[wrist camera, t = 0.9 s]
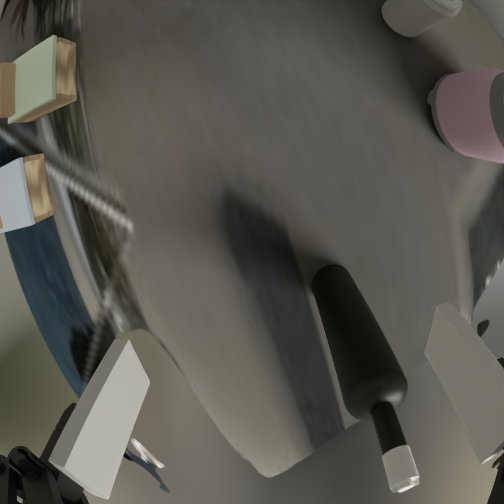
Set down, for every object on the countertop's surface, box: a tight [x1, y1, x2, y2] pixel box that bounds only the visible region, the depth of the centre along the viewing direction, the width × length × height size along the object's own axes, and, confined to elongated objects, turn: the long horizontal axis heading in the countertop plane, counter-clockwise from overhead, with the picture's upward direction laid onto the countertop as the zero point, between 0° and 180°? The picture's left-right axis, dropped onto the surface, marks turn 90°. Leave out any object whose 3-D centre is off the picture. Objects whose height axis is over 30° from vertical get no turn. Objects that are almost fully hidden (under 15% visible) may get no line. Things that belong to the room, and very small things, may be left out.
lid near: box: [0, 35, 57, 123], centre depth 22 cm, size 10×10×4 cm
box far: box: [23, 153, 54, 223], centre depth 33 cm, size 10×10×4 cm
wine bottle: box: [312, 265, 419, 493], centre depth 25 cm, size 6×6×30 cm
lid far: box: [0, 157, 35, 233], centre depth 28 cm, size 10×10×4 cm
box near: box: [14, 37, 77, 123], centre depth 26 cm, size 10×10×4 cm
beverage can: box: [382, 0, 462, 37], centre depth 18 cm, size 6×6×12 cm
